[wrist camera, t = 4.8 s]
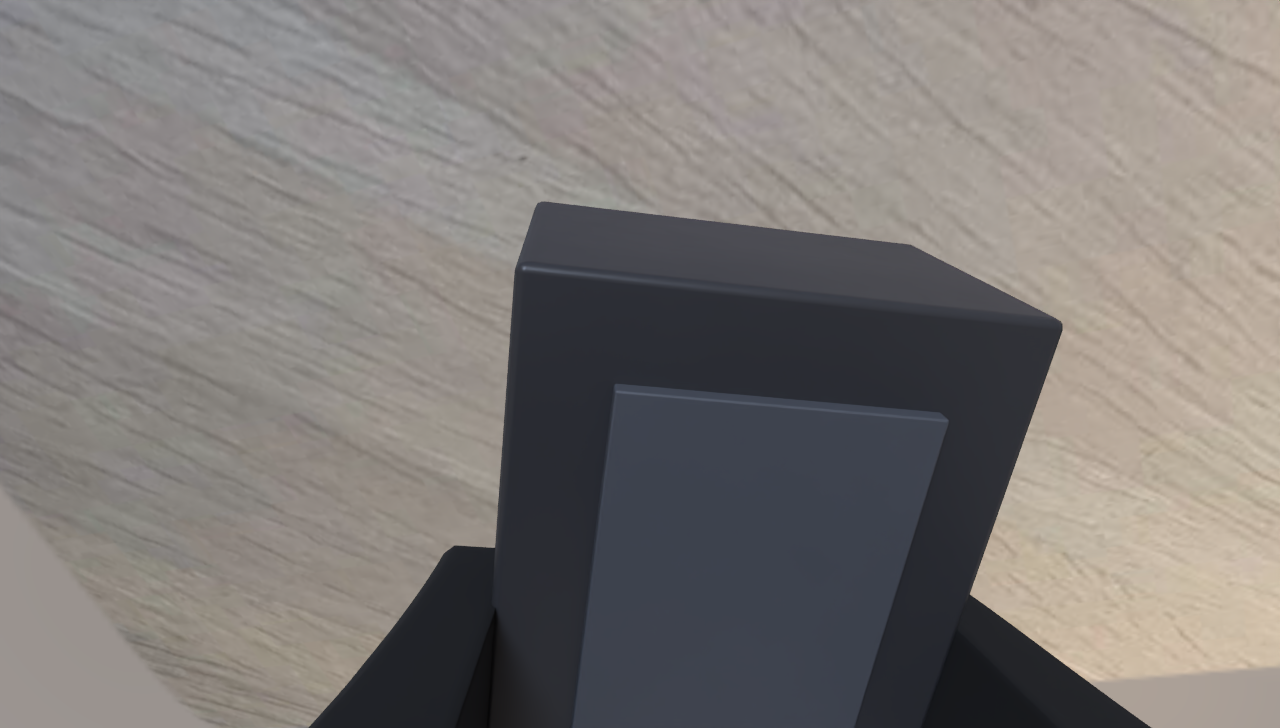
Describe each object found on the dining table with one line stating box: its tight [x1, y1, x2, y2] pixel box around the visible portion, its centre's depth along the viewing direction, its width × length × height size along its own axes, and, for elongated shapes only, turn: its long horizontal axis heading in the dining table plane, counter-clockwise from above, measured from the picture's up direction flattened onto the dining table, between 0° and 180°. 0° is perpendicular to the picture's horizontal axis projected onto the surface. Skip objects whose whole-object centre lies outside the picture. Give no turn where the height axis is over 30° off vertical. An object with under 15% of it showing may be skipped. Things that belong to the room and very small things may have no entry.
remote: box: [487, 202, 1062, 728], centre depth 9 cm, size 9×4×3 cm, turn 173°
